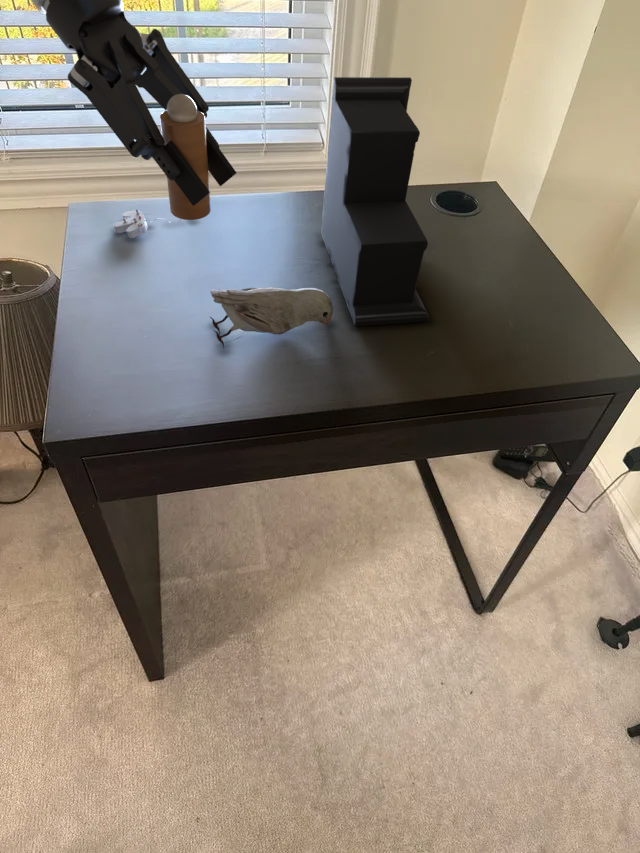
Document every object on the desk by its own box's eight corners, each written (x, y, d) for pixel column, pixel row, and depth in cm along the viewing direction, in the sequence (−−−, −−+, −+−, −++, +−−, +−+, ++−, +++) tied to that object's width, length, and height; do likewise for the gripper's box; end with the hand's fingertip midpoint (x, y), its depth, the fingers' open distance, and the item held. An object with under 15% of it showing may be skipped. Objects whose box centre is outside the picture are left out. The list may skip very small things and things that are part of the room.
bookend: (429, 322, 88) (470, 153, 71) (353, 328, 86) (376, 156, 69) (385, 232, 103) (410, 75, 86) (319, 235, 102) (331, 75, 84)
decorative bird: (336, 336, 85) (341, 289, 79) (215, 354, 81) (212, 305, 75) (324, 312, 88) (328, 265, 83) (208, 327, 84) (204, 279, 79)
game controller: (108, 226, 99) (105, 210, 97) (174, 207, 105) (173, 192, 103) (126, 243, 96) (123, 227, 94) (192, 222, 102) (191, 207, 100)
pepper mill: (162, 212, 77) (147, 96, 67) (185, 196, 80) (175, 82, 70) (196, 224, 75) (186, 107, 66) (218, 207, 78) (212, 93, 69)
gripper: (19, -14, 58) (187, 207, 66) (143, -49, 69) (274, 144, 77) (-7, 39, 63) (151, 238, 71) (112, -1, 74) (237, 174, 82)
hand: (215, 189), depth 74 cm, fingers closed on pepper mill, 5 cm apart
